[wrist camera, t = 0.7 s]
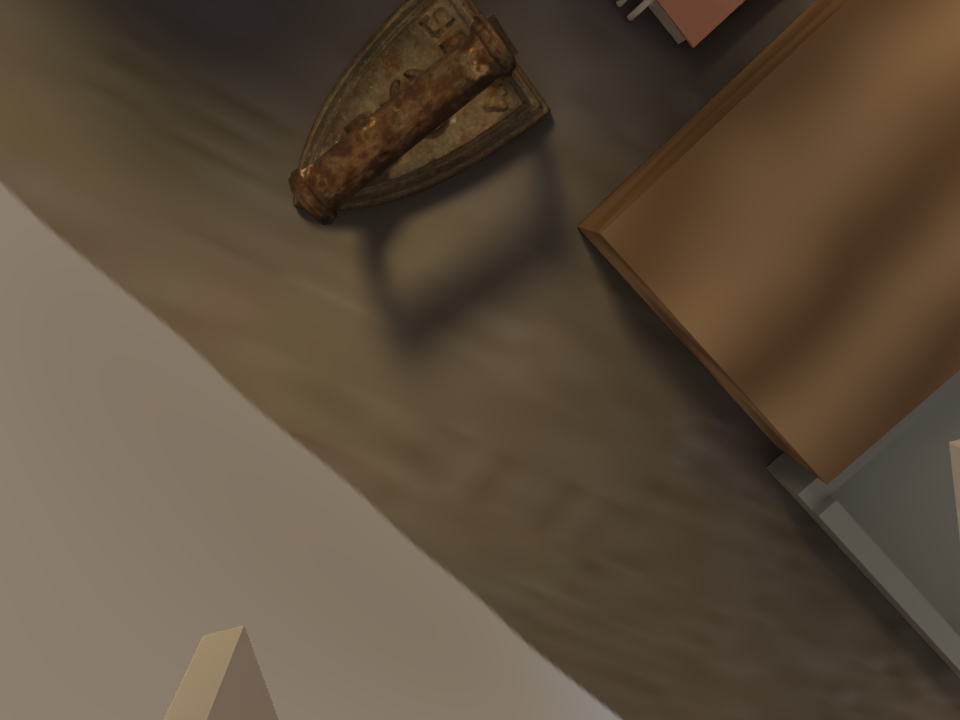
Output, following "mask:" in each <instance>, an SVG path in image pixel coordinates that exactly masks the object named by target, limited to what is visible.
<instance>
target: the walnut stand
mask: <svg viewBox="0 0 960 720" xmlns="http://www.w3.org/2000/svg"><path fill="white" fill-rule="evenodd" d="M577 227H578V228H579V229H580V230H581V232H582V233H583V234H584V235H585V236H586V237H587V238H588V239H589V240H590V242H591V243H592V244H593V245H594V246H595V247H596V248H597V249H598V250H599V251H600V253H601V254H602V255H603V256H604V257H605V258H606V259H607V260H608V261H609V262H610V264H611V265H612V266H613V267H614V268H615V269H616V270H617V271H618V272H619V273H620V275H621V276H622V277H623V278H624V279H625V280H626V281H627V282H628V283H629V285H630V286H631V287H632V288H633V289H634V290H635V291H636V292H637V293H638V294H639V296H640V297H641V298H642V299H643V300H644V301H645V302H646V303H647V304H648V305H649V307H650V308H651V309H652V310H653V311H654V312H655V313H656V314H657V315H658V316H659V318H660V319H661V320H662V321H663V322H664V323H665V324H666V325H667V326H668V328H669V329H670V330H671V331H672V332H673V333H674V334H675V335H676V336H677V337H678V339H679V340H680V341H681V342H682V343H683V344H684V345H685V346H686V347H687V348H688V350H689V351H690V352H691V353H692V354H693V355H694V356H695V357H696V358H697V360H698V361H699V362H700V363H701V364H702V365H703V366H704V367H705V368H706V369H707V371H708V372H709V373H710V374H711V375H712V376H713V377H714V378H715V379H716V380H717V382H718V383H719V384H720V385H721V386H722V387H723V388H724V389H725V390H726V391H727V393H728V394H729V395H730V396H731V397H732V398H733V399H734V400H735V401H736V403H737V404H738V405H739V406H740V407H741V408H742V409H743V410H744V411H745V412H746V414H747V415H748V416H749V417H750V418H751V419H752V420H753V421H754V422H755V423H756V425H757V426H758V427H759V428H760V429H761V430H762V431H763V432H764V433H765V434H766V436H767V437H768V438H769V439H770V440H771V441H772V442H773V443H774V444H775V446H776V447H778V448H779V449H780V450H782V451H783V452H784V453H786V454H787V455H788V456H790V457H791V458H792V459H794V460H795V461H796V462H797V463H799V464H800V465H801V466H803V467H804V468H805V469H807V470H808V471H809V472H811V473H812V474H813V475H815V476H816V477H817V478H819V479H820V480H821V481H822V482H824V483H825V484H826V485H827V484H829V483H830V482H831V481H832V480H833V479H834V478H835V477H837V476H838V475H839V474H840V473H841V472H842V471H844V470H845V469H846V468H847V467H848V466H849V465H850V464H852V463H853V462H854V461H855V460H856V459H857V458H859V457H860V456H861V455H862V454H863V453H864V452H865V451H867V450H868V449H869V448H870V447H871V446H872V445H874V444H875V443H876V442H877V441H878V440H879V439H880V438H882V437H883V436H884V435H885V434H886V433H887V432H889V431H890V430H891V429H892V428H893V427H894V426H895V425H897V424H898V423H899V422H900V421H901V420H902V419H904V418H905V417H906V416H907V415H908V414H909V413H910V412H912V411H913V410H914V409H915V408H916V407H917V406H919V405H920V404H921V403H922V402H923V401H924V400H925V399H927V398H928V397H929V396H930V395H931V394H932V393H934V392H935V391H936V390H937V389H938V388H939V387H940V386H942V385H943V384H944V383H945V382H946V381H947V380H949V379H950V378H951V377H952V376H953V375H954V374H955V373H957V372H958V371H959V370H960V0H815V1H814V2H813V3H812V4H811V5H810V6H809V7H808V8H807V9H806V10H805V11H804V12H803V13H802V14H801V15H800V16H799V17H798V18H796V19H795V20H794V21H793V22H792V23H791V24H790V25H789V26H788V27H787V28H786V29H785V30H784V31H783V32H782V33H781V34H780V35H779V36H777V37H776V38H775V39H774V40H773V41H772V42H771V43H770V44H769V45H768V46H767V47H766V48H765V49H764V50H763V51H762V52H761V53H760V54H759V55H757V56H756V57H755V58H754V59H753V60H752V61H751V62H750V63H749V64H748V65H747V66H746V67H745V68H744V69H743V70H742V71H741V72H740V73H738V74H737V75H736V76H735V77H734V78H733V79H732V80H731V81H730V82H729V83H728V84H727V85H726V86H725V87H724V88H723V89H722V90H721V91H719V92H718V93H717V94H716V95H715V96H714V97H713V98H712V99H711V100H710V101H709V102H708V103H707V104H706V105H705V106H704V107H703V108H702V109H701V110H699V111H698V112H697V113H696V114H695V115H694V116H693V117H692V118H691V119H690V120H689V121H688V122H687V123H686V124H685V125H684V126H683V127H682V128H680V129H679V130H678V131H677V132H676V133H675V134H674V135H673V136H672V137H671V138H670V139H669V140H668V141H667V142H666V143H665V144H664V145H663V146H661V147H660V148H659V149H658V150H657V151H656V152H655V153H654V154H653V155H652V156H651V157H650V158H649V159H648V160H647V161H646V162H645V163H644V164H643V165H641V166H640V167H639V168H638V169H637V170H636V171H635V172H634V173H633V174H632V175H631V176H630V177H629V178H628V179H627V180H626V181H625V182H624V183H622V184H621V185H620V186H619V187H618V188H617V189H616V190H615V191H614V192H613V193H612V194H611V195H610V196H609V197H608V198H607V199H606V200H605V201H603V202H602V203H601V204H600V205H599V206H598V207H597V208H596V209H595V210H594V211H593V212H592V213H591V214H590V215H589V216H588V217H587V218H586V219H584V220H583V221H582V222H581V223H580V224H579V225H578V226H577Z"/></svg>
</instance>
